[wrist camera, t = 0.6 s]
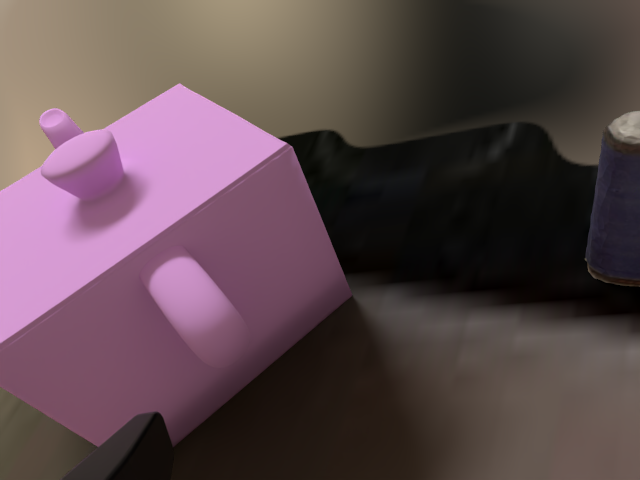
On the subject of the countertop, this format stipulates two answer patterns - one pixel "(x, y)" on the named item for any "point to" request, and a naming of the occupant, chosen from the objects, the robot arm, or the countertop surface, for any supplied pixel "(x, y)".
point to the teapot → (157, 266)
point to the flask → (617, 205)
